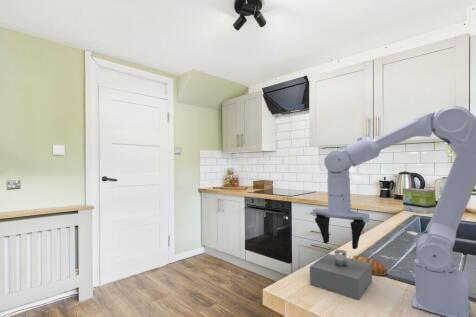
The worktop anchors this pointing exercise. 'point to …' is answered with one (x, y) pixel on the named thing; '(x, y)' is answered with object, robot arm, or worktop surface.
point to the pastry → (373, 266)
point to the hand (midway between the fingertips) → (340, 245)
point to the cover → (341, 274)
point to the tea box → (419, 200)
